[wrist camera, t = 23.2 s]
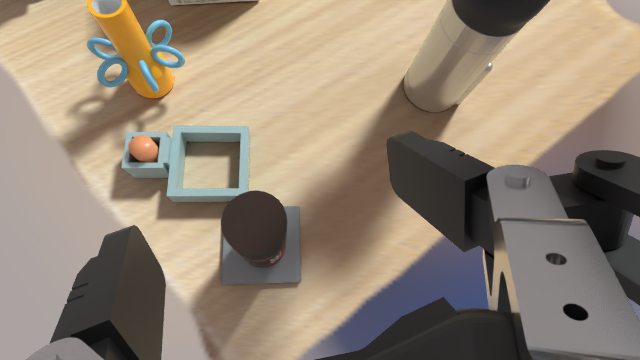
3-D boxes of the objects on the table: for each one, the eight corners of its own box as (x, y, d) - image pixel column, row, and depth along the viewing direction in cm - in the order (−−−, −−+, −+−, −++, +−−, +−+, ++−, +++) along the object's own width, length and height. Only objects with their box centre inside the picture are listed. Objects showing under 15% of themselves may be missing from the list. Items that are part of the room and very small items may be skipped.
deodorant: (256, 214, 47) (245, 179, 33) (294, 237, 46) (299, 211, 32) (231, 252, 45) (207, 232, 31) (269, 276, 44) (264, 267, 30)
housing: (250, 135, 51) (247, 123, 47) (248, 201, 48) (245, 193, 44) (140, 134, 49) (128, 121, 46) (130, 202, 46) (117, 194, 43)
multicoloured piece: (201, 57, 54) (173, -26, 40) (189, 116, 51) (153, 48, 37) (121, 48, 54) (62, -40, 39) (103, 107, 50) (33, 34, 36)
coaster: (299, 207, 48) (299, 206, 48) (300, 282, 45) (300, 281, 45) (225, 208, 47) (225, 207, 47) (222, 284, 44) (221, 284, 44)
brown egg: (165, 149, 48) (154, 135, 44) (163, 169, 47) (151, 156, 43) (143, 148, 48) (129, 134, 44) (140, 169, 47) (126, 156, 43)
